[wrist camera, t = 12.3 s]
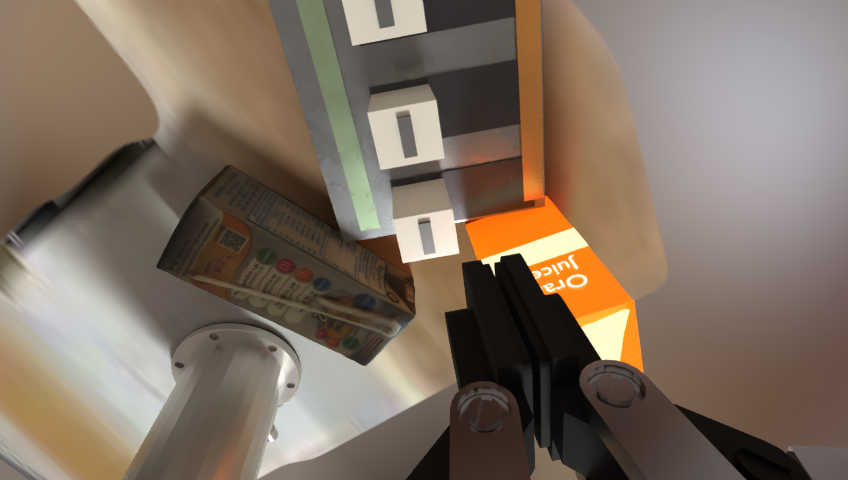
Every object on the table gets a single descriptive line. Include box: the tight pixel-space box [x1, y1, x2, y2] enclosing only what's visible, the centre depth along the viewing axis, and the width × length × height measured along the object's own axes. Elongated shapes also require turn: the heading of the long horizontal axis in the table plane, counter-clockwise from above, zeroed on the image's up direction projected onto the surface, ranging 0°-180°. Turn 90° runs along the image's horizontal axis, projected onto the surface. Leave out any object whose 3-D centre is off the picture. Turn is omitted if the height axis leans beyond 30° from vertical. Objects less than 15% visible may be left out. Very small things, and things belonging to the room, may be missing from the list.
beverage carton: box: [157, 165, 416, 366], centre depth 34 cm, size 8×19×7 cm, turn 51°
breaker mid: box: [367, 84, 445, 170], centre depth 26 cm, size 4×4×6 cm
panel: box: [268, 0, 545, 243], centre depth 30 cm, size 19×17×2 cm
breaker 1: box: [342, 0, 427, 46], centre depth 23 cm, size 4×4×6 cm
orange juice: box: [466, 196, 643, 372], centre depth 29 cm, size 8×9×20 cm
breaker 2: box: [392, 178, 459, 263], centre depth 30 cm, size 4×4×6 cm
